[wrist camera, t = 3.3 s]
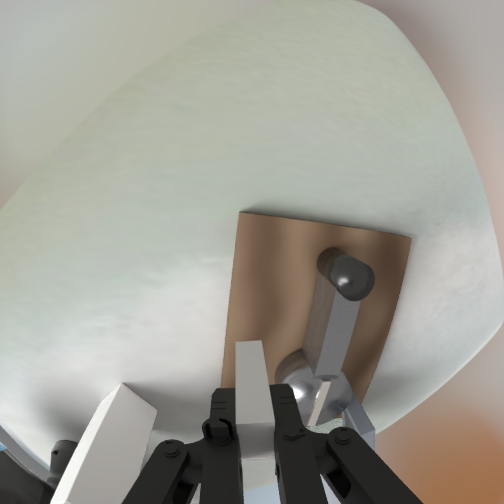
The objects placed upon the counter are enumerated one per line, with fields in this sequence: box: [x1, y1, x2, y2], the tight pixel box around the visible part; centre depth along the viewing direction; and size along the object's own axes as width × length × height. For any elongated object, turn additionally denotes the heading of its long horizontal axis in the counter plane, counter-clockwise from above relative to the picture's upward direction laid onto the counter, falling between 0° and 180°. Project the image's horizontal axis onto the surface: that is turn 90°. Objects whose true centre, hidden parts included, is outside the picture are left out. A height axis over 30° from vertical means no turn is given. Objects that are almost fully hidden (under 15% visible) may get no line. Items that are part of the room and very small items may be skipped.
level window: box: [342, 390, 375, 450], centre depth 26 cm, size 3×7×8 cm, turn 16°
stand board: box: [221, 212, 412, 418], centre depth 28 cm, size 18×24×2 cm
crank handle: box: [274, 247, 375, 427], centre depth 24 cm, size 18×7×6 cm, turn 173°
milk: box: [50, 383, 158, 504], centre depth 19 cm, size 6×6×22 cm
